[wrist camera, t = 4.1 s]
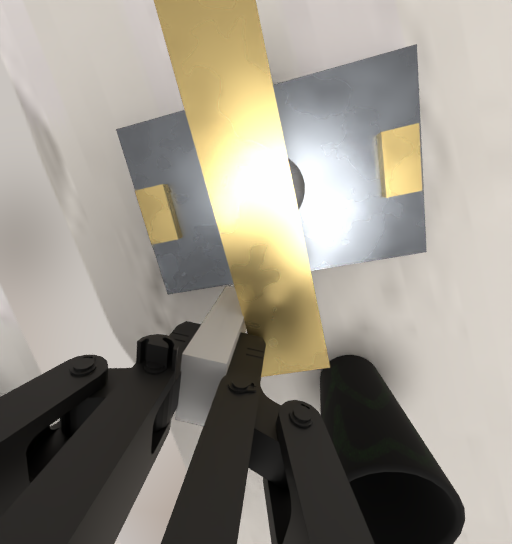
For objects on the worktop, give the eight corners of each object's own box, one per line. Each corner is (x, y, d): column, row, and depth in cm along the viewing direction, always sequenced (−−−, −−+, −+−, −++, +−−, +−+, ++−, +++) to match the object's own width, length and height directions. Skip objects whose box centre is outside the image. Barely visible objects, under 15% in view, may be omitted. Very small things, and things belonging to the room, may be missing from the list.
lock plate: (173, 289, 26) (140, 317, 21) (125, 132, 23) (69, 113, 17) (419, 248, 23) (462, 268, 17) (409, 52, 19) (459, -5, 13)
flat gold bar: (269, 314, 19) (260, 376, 13) (202, 49, 15) (139, -51, 9) (316, 306, 18) (330, 367, 12) (259, 28, 14) (235, -96, 8)
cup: (312, 342, 26) (328, 459, 15) (396, 347, 26) (481, 476, 14) (307, 408, 29) (318, 553, 17) (384, 415, 28) (449, 573, 16)
